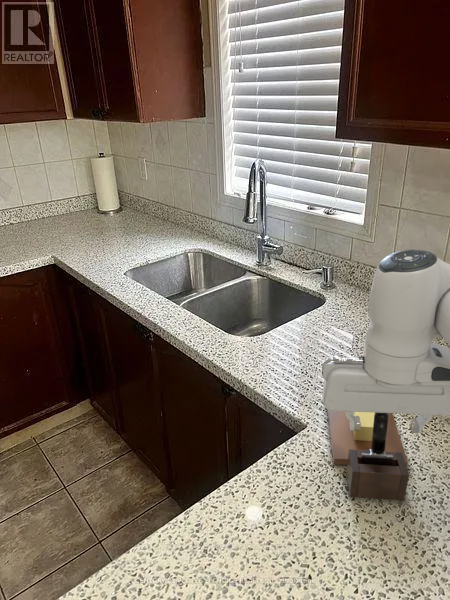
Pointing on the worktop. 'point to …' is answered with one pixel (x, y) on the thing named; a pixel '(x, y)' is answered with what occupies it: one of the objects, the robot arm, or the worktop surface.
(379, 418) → the knife
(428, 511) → the worktop surface
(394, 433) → the board
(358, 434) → the butter block
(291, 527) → the worktop surface
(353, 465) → the knife block
